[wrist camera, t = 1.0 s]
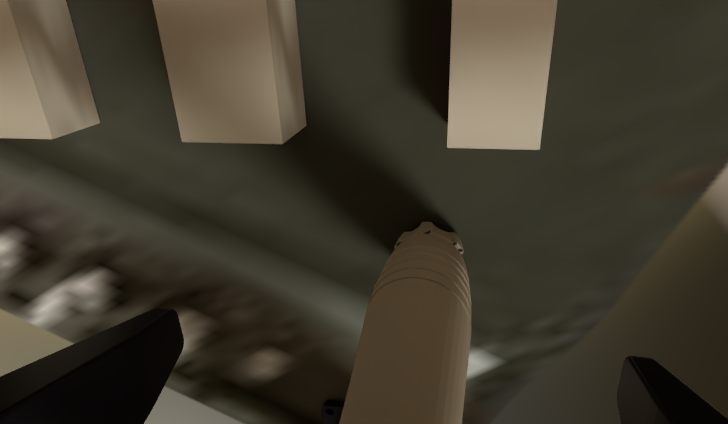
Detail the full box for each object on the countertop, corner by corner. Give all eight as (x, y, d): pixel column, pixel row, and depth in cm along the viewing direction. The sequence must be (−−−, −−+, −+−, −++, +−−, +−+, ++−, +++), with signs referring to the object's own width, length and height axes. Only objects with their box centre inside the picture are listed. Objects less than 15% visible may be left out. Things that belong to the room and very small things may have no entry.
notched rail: (530, 128, 19) (539, 149, 17) (46, 122, 24) (-7, 137, 22) (563, -175, 15) (582, -211, 12) (-28, -107, 20) (-105, -123, 17)
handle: (437, 170, 21) (372, 478, 8) (509, 278, 22) (561, 694, 9) (353, 220, 23) (184, 532, 10) (424, 316, 24) (365, 703, 11)
